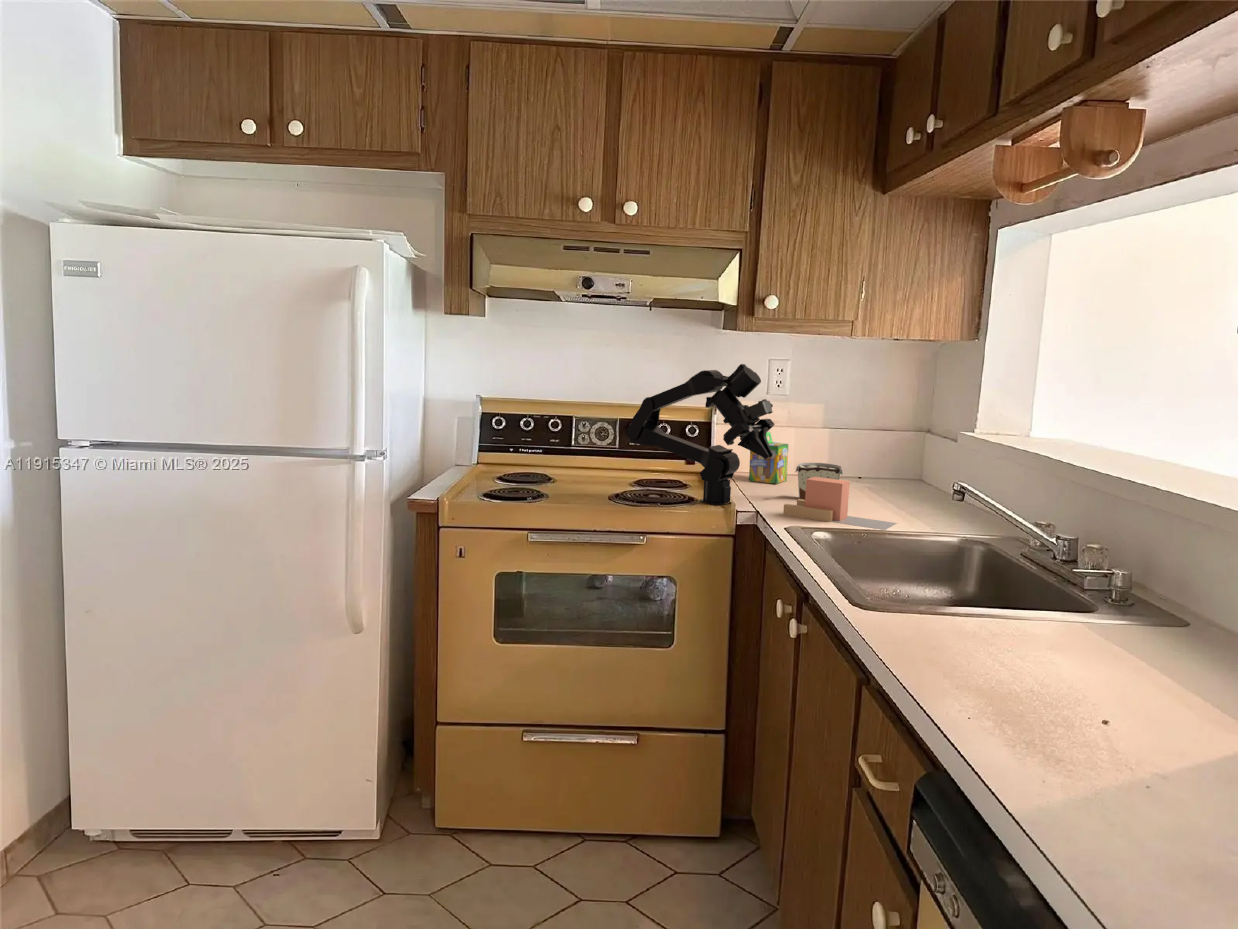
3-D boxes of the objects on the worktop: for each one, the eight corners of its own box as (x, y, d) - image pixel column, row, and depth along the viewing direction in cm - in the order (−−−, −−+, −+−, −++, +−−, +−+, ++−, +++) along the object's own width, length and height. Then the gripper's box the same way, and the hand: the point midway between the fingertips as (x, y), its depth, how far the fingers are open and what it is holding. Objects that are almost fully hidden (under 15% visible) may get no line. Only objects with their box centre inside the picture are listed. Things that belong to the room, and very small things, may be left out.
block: (804, 515, 219) (806, 479, 218) (811, 512, 223) (814, 476, 222) (839, 521, 214) (842, 483, 213) (847, 517, 218) (849, 481, 217)
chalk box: (776, 485, 266) (779, 435, 264) (747, 481, 270) (750, 432, 268) (787, 481, 274) (790, 432, 271) (759, 477, 278) (762, 429, 276)
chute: (779, 516, 220) (780, 504, 220) (794, 510, 228) (795, 498, 228) (884, 532, 206) (885, 519, 206) (897, 525, 214) (898, 512, 213)
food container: (837, 499, 245) (839, 463, 244) (840, 504, 239) (843, 466, 237) (791, 497, 246) (793, 461, 245) (793, 501, 240) (795, 464, 239)
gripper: (737, 390, 218) (776, 439, 214) (769, 387, 233) (806, 433, 229) (706, 420, 224) (744, 468, 219) (740, 415, 239) (776, 460, 234)
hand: (769, 457), depth 225 cm, fingers closed
